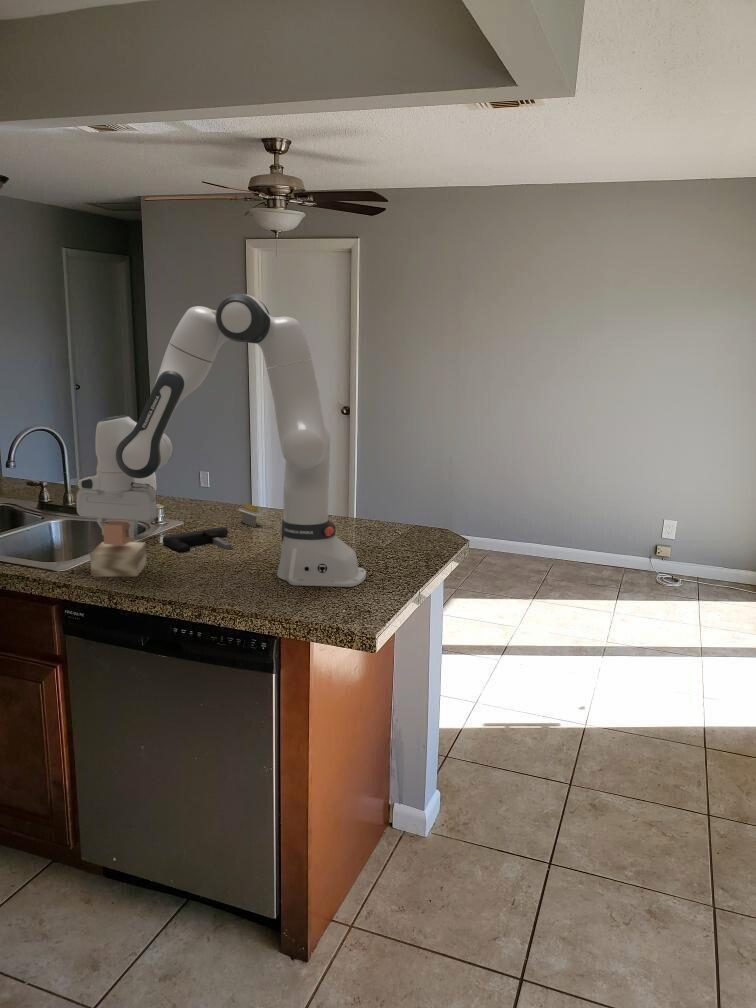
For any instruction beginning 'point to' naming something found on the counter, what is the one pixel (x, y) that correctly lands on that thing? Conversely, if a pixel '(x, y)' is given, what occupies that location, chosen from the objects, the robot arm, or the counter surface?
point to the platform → (250, 514)
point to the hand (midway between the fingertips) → (118, 536)
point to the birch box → (118, 559)
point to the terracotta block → (116, 532)
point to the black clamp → (197, 539)
